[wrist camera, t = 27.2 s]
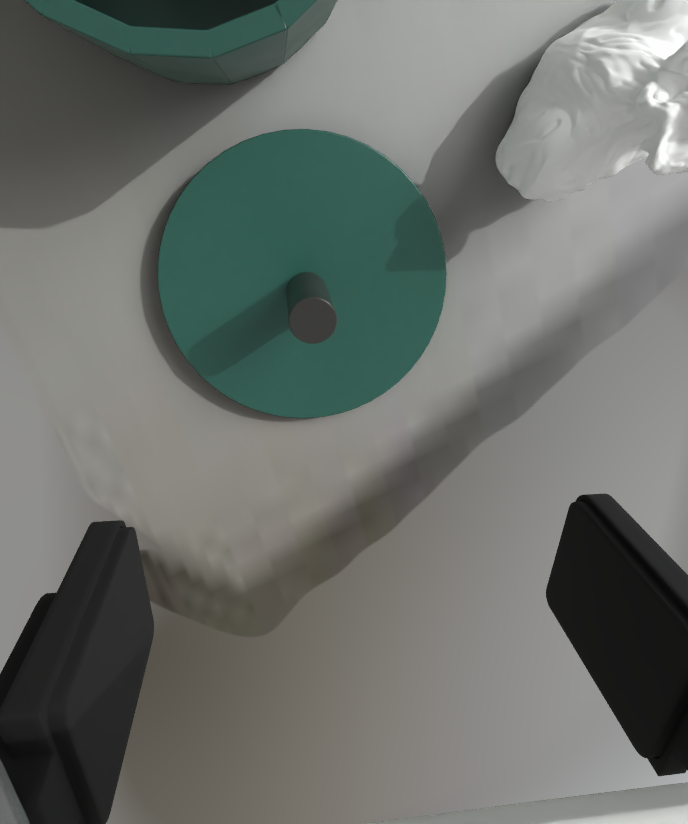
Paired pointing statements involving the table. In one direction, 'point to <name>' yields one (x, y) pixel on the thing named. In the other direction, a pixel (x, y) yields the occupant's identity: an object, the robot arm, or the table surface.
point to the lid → (301, 273)
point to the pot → (194, 33)
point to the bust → (603, 102)
